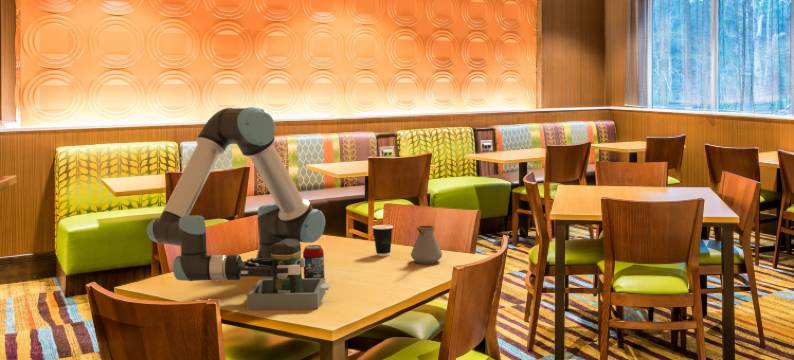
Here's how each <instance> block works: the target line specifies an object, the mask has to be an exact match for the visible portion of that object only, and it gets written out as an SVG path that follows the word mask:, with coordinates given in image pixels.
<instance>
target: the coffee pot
mask: <svg viewBox="0 0 794 360" xmlns="http://www.w3.org/2000/svg"><path fill="white" fill-rule="evenodd" d="M435 227H436V226H434V225H419V226H416V230H415V234H417V237H416V240H415V242H414V245H413V247H412V250H411V253H410V257H411V258H412V259H413V261H415V262H416V263H417V264H421V265H432V264H436V263H438V261H439V260H441V258H442V257H443V252H442V249H441V247H440V245H439V243H438V240H437V238H436V236H435V233H434V229H435ZM417 232H418V233H417Z"/></svg>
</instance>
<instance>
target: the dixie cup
mask: <svg viewBox="0 0 794 360" xmlns="http://www.w3.org/2000/svg"><path fill="white" fill-rule="evenodd" d="M371 228H372V230H373V238H374V245H375V246H374V247H375V252H376V256H378V255H379V257H389V256H390V253H391V249H392V248H391V247H392V235H393V228H394V226H393V225H391V224H379V225H373V226H371ZM388 255H389V256H388Z"/></svg>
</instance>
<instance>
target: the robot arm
mask: <svg viewBox="0 0 794 360" xmlns="http://www.w3.org/2000/svg"><path fill="white" fill-rule="evenodd" d="M275 128H276V124H275V119H274V118H273V117H272V115H271V114H270V113H269V112H268V111H267V110H265V109H263V108H260V107H259V108H258V107H250V106H249V107H245V108H244V107H243V108H241V107H237V108H234V107H233V108H232V107H227V108H222V109H220V110H218V111H217V112H216V113H214V114H213V115H212V116H211V117H210V118H209V119H208V120H207V121H206V123H205V124H204V126H203V127H202V128H201V130H200V132H199V134H198V135H197V138H196V140H195V142H196V146H195V148H194V150H193V152H192V154H191V156H190V158H189V160H188V161H187V164H186V166H185V168H184V169H183V171H182V174H181V175H180V178H179V180H178V181H177V183H176V186H175V188H174V189H173V190H172V193H171V195H170V197H169V199H168V200H167V203H166V205H165V207H164V209H163V210H162V212H161V214H160V216H159V217H158V218H154V219H152V220H150V222H149V223H148V224H147V227H146V233H147V234H146V235H147V236H148V238H149V239H150V240H151V241H152V242H155V243H159V244H161V245H171V246H177V247H180V255H177V256H175V258H174V261H173V267H172V272H173V275H174V278H175V279H176V280H177V281H186V282H195V281H196V282H199V281H216V282H217V283H219V282H220V281H226V280H228V281H239V280H240V279H241V278H245V277H259V278H260V277H261V278H262V277H263V278H266V277H267V278H273V276H274V278H277V274H278V275H300V265H278V266H277V267H276V266H273V262H272V257H271V246H272V245H274V244H275V243H278V242H280V241H282V240H284V239H297V240H298V241H299V242H300V243H304V244H308V243H311V244H312V243H315V242H317V241H318V240H320V238H321V237H322V236H323V234H324V231H325V228H326V218H325V215H324V213H323V211H321V210H319V209H318V208H317V209H316V208H313V206H312V204H311V203H310V201H309V199H307V197H302V196H301V194H300V192H299V190H298V188H297V186H296V183H295V182H294V180H293V178H292V177H291V174H290V173H289V171H288V170H287V168H286V166H285V164H284V162H283V160H282V159H281V156H280V155H279V153H278V151H277V149H276V147H275V146H274V143H275V141H276V137H275V135H276V130H275ZM230 145H237V147H238V149H239V150H240V152H241V154H242V155H243V156H245V157H249V158H250V160H251V162H252V164H253V165H254V167H255V169H256V171H257V172H258V174H259V175H260V177H261V179H262V181H263V183H264V185H265V187H266V188H267V190H268V191H269V194H270V196H271V197H272V198H273V201H274V203H269V204H264V205H260V206H259V207H258V209H257V230H258V231H257V232H258V233H257V234H258V250H257V254H256V257H255V258H254V257H253V258H252V257H251V258H250V259H247V260H245V261H243V260H242V256H241V255H240V254H228V255H227V254H213V255H212V254H211V255H209V254H208V252H207V250H208V249H207V228H206V220H205V217H204V216H203V215H197V214H196V215H194V214H193V215H191V212H192V209H193V207H194V205H195V203H196V201H197V199H198V197H199V195H200V194H201V191H202V189H203V188H204V186H205V183H206V181H207V180H208V178H209V176H210V174H211V171H212V170H213V167H214V165H215V163H216V162H217V160H218V157H219V156H220V155H222V154H224V152H225V151H226V149H227V147H228V146H230ZM304 267H305V259H304V258H303V257H301V268H304Z"/></svg>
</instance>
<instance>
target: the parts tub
mask: <svg viewBox="0 0 794 360" xmlns="http://www.w3.org/2000/svg"><path fill="white" fill-rule="evenodd" d="M302 285H303V293H273V278H265V279H264V278H261V279H259V280H258V281H257V282H256V283H255V285H254V286H253V287H252V288H251V289H250V290H249V292H248V293H247V294H246V301H247V302H246V303H247V311H263V310H264V311H266V310H267V311H268V310H269V311H271V310H272V311H273V310H318V309H319V308H320V306H321V304H322V300H323V299H324V297H325V294H326V291H329V290H330V288H331V283H328V282H327V283H326V278H325V277H324V278H305V279H304V278H302Z"/></svg>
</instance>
